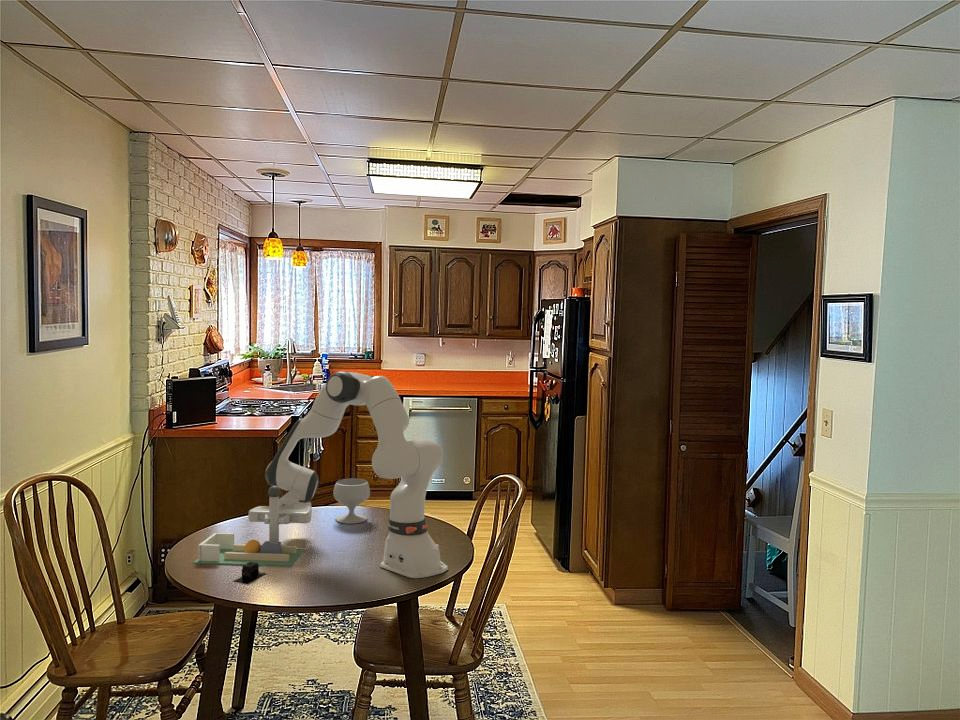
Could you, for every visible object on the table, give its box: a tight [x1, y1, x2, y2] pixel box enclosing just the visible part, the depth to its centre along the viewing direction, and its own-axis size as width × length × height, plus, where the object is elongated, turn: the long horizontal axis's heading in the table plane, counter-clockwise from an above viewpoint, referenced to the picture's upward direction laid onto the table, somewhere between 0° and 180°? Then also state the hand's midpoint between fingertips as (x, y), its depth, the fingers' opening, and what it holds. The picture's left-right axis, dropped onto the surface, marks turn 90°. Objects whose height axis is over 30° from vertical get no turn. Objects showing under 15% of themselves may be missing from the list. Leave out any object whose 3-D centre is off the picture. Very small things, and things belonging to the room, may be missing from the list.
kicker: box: [260, 485, 282, 554], centre depth 229 cm, size 6×5×22 cm
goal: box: [197, 532, 298, 561], centre depth 229 cm, size 28×13×5 cm, turn 88°
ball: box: [245, 539, 262, 553], centre depth 229 cm, size 5×5×5 cm
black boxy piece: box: [232, 562, 267, 585], centre depth 211 cm, size 12×7×5 cm, turn 160°
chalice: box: [332, 477, 371, 525], centre depth 273 cm, size 14×14×15 cm
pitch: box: [192, 548, 306, 568], centre depth 229 cm, size 31×16×1 cm, turn 88°
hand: (273, 521), depth 228 cm, fingers closed on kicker, 3 cm apart
